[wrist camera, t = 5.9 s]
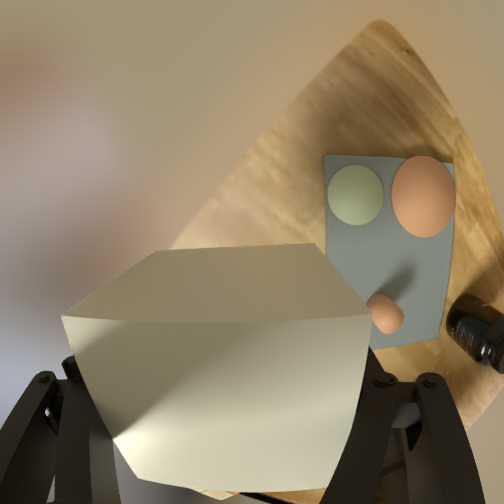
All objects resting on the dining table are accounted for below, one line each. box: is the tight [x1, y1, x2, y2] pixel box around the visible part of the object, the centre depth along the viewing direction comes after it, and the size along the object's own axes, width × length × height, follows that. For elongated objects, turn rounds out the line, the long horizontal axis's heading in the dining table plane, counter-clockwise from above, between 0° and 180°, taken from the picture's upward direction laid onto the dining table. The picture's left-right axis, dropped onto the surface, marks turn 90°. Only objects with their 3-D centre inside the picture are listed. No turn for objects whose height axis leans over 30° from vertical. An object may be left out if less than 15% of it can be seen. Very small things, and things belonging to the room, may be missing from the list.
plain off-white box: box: [61, 243, 373, 492], centre depth 12 cm, size 9×9×9 cm
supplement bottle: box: [446, 294, 504, 374], centre depth 24 cm, size 7×7×12 cm
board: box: [323, 155, 456, 350], centre depth 26 cm, size 22×16×5 cm
